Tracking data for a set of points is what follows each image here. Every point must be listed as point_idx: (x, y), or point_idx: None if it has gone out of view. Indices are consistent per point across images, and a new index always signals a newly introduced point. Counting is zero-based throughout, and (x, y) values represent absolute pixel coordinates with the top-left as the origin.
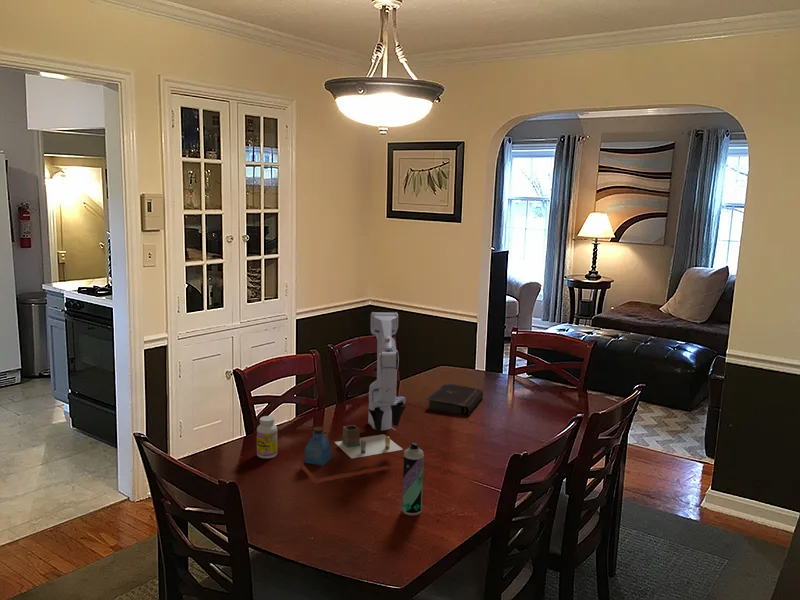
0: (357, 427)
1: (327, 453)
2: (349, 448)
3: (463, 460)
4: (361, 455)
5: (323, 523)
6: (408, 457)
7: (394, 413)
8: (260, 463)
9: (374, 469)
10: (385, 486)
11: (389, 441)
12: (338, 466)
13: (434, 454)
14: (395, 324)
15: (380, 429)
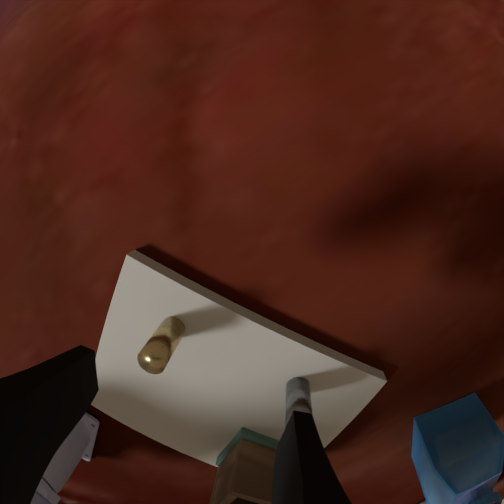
0: (224, 500)
1: (455, 436)
2: None
3: (56, 11)
4: (334, 372)
5: None
6: None
7: (37, 447)
8: None
9: (400, 245)
10: (495, 105)
11: (157, 337)
12: (440, 375)
13: (61, 123)
14: None
15: (299, 415)
